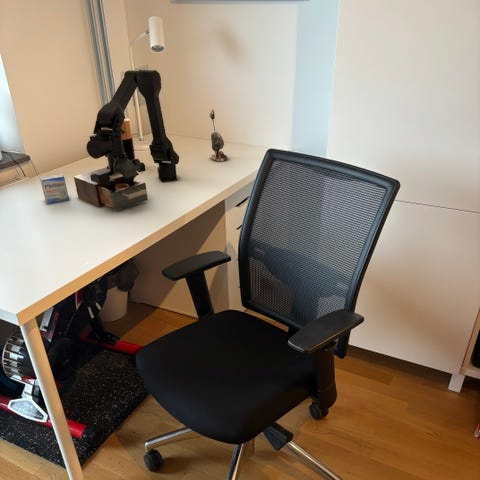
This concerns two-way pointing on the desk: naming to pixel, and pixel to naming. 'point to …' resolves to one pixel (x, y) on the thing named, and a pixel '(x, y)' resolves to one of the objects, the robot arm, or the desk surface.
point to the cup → (121, 186)
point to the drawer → (123, 195)
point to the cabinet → (90, 187)
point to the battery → (128, 139)
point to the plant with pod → (217, 143)
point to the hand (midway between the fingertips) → (122, 196)
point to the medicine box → (54, 188)
